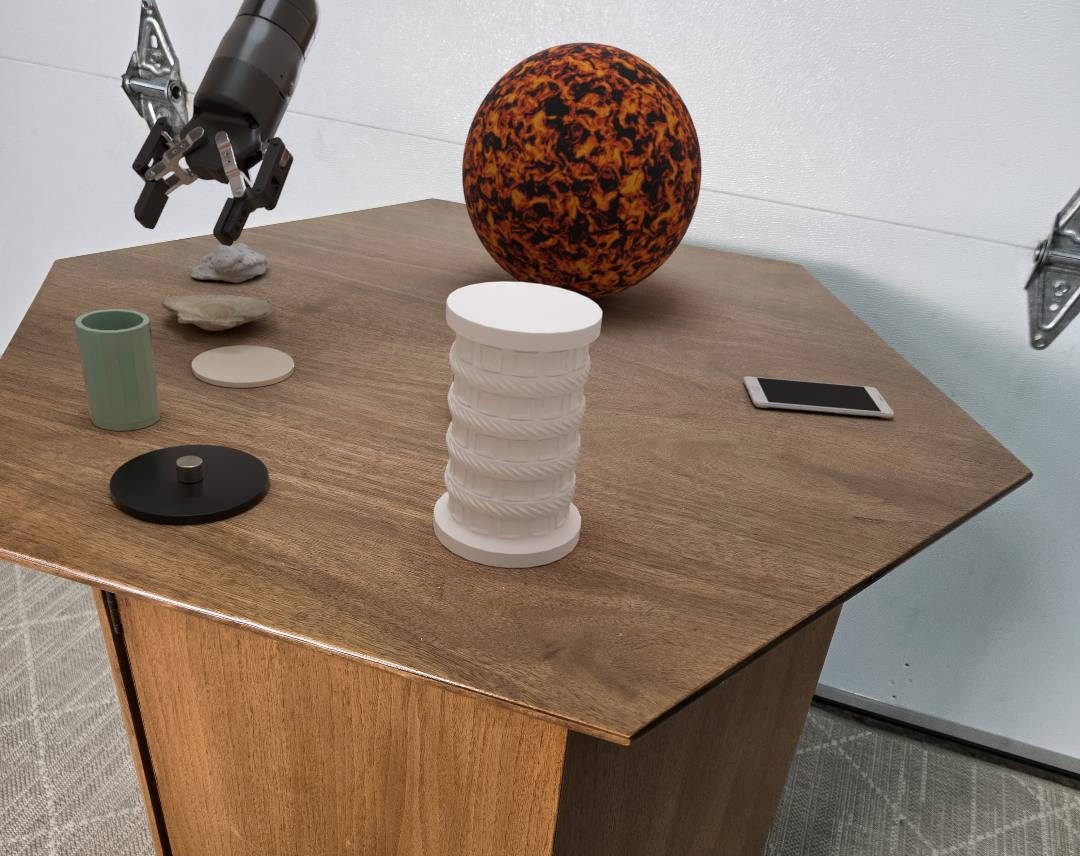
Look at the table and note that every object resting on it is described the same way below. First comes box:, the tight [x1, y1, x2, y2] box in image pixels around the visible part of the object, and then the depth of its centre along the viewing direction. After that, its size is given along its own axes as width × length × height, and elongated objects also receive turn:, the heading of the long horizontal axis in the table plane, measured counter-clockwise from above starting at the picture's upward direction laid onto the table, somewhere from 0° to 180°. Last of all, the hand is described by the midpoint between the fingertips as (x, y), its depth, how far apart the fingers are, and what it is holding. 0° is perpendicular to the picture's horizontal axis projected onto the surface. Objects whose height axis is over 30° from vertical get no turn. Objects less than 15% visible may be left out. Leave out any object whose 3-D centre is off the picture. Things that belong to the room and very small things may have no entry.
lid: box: [108, 444, 270, 526], centre depth 78 cm, size 12×12×2 cm
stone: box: [190, 242, 270, 284], centre depth 124 cm, size 10×5×10 cm
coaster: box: [191, 344, 295, 389], centre depth 99 cm, size 10×10×1 cm
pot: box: [74, 308, 162, 432], centre depth 86 cm, size 6×6×9 cm
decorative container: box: [432, 281, 603, 569], centre depth 73 cm, size 12×12×18 cm
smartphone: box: [742, 375, 895, 419], centre depth 105 cm, size 8×1×15 cm
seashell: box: [159, 294, 276, 332], centre depth 109 cm, size 12×12×3 cm
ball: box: [461, 42, 702, 300], centre depth 123 cm, size 30×30×30 cm
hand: (181, 232), depth 88 cm, fingers open, 8 cm apart
